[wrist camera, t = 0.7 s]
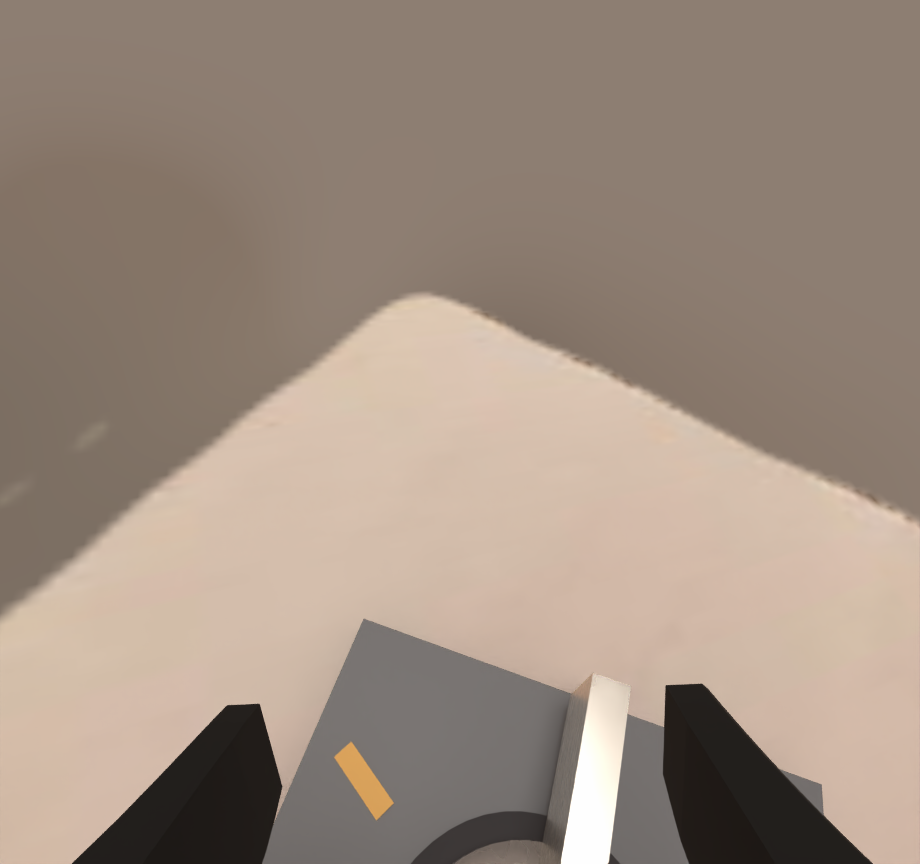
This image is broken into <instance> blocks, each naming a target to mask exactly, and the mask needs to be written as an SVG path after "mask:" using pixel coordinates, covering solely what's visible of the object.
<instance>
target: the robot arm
mask: <svg viewBox="0 0 920 864" xmlns="http://www.w3.org/2000/svg"><path fill="white" fill-rule="evenodd" d="M663 777H664V780H665V784H666V788H667V792H668V796H669V800H670V803H671V807H672V811H673V815H674V818H675V822H676V826H677V829H678V833H679V837H680V840H681V843H682V846H683V849H684V852H685V854H686V857H687V860H688V863H689V864H873V863H872V862H871V861H870V860H869V859H867V858H866V857H865V856H864V855H863V854H862V853H861V852H860V851H859V850H858V849H857V848H856V847H855V846H854V845H853V844H852V843H851V842H850V841H849V840H848V839H847V838H846V837H845V836H844V835H843V834H842V833H841V832H840V831H839V830H838V829H837V828H836V827H835V826H834V825H833V824H832V823H831V822H830V821H829V820H828V819H827V818H826V817H825V816H824V815H823V814H822V813H821V812H820V811H819V810H818V809H817V808H816V807H815V806H814V805H813V804H812V803H811V802H810V801H809V800H808V799H807V798H806V797H805V796H804V795H803V794H802V793H801V792H800V791H799V790H798V789H797V787H796V786H795V785H794V784H793V783H792V782H791V781H790V780H789V779H788V778H787V777H786V776H785V775H784V774H783V773H782V772H781V771H780V770H779V769H778V767H777V766H776V765H775V764H774V763H773V762H772V761H771V760H770V759H769V758H768V757H767V756H766V754H765V753H764V752H763V751H762V750H761V749H760V748H759V747H758V746H757V744H756V743H755V742H754V741H753V740H752V739H751V738H750V737H749V736H748V734H747V733H746V732H745V731H744V730H743V729H742V728H741V727H740V725H739V724H738V723H737V722H736V721H735V720H734V719H733V717H732V716H731V715H730V714H729V713H728V712H727V710H726V709H725V708H724V707H723V706H722V705H721V703H720V702H719V701H718V700H717V699H716V698H715V696H714V695H713V694H712V693H711V692H710V691H709V689H708V688H706V687H705V686H704V685H703V684H685V685H666V691H665V720H664V750H663ZM281 790H282V784H281V780H280V777H279V773H278V769H277V766H276V762H275V758H274V755H273V751H272V747H271V744H270V740H269V736H268V733H267V729H266V725H265V722H264V718H263V715H262V711H261V707H260V704H246V705H227V706H226V707H225V708H224V709H223V710H222V711H221V712H220V713H219V714H218V715H217V716H216V717H215V718H214V719H213V720H212V721H211V722H210V724H209V725H208V726H207V727H206V728H205V729H204V730H203V731H202V732H201V733H200V734H199V735H198V736H197V737H196V738H195V739H194V740H193V742H192V743H191V744H190V745H189V746H188V747H187V748H186V749H185V750H184V751H183V752H182V753H181V754H180V755H179V756H178V757H177V758H176V759H175V761H174V762H173V763H172V764H171V765H170V766H169V767H168V768H167V769H166V770H165V771H164V772H163V773H162V774H161V775H160V776H159V777H158V778H157V779H156V780H155V781H154V782H153V784H152V785H151V786H150V787H149V788H148V789H147V790H146V791H145V792H144V793H143V794H142V795H141V796H140V797H139V798H138V799H137V800H136V801H135V802H134V803H133V804H132V805H131V806H130V807H129V808H128V809H127V810H126V811H125V812H124V813H123V814H122V815H121V816H120V817H119V818H118V819H117V820H116V821H115V822H114V823H113V824H112V825H111V826H110V827H109V828H108V829H107V830H106V831H105V832H104V833H103V834H102V835H101V836H100V837H99V838H98V839H97V840H96V841H95V842H94V843H93V844H92V845H91V846H90V847H89V848H87V849H86V850H85V851H84V852H83V853H82V854H81V855H80V856H79V857H78V858H77V859H76V860H75V861H74V862H73V863H72V864H262V862H263V860H264V857H265V854H266V850H267V847H268V843H269V839H270V835H271V831H272V828H273V824H274V820H275V816H276V811H277V807H278V803H279V799H280V795H281Z"/></svg>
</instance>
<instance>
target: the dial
mask: <svg viewBox="0 0 920 864" xmlns="http://www.w3.org/2000/svg"><path fill="white" fill-rule="evenodd" d="M630 690H631V686H629V685H626V684H623V683H620V682H618V681H615V680H612V679H609V678H606V677H604V676H601V675H598V674H595V673H592V674H591V675H590V676H589V677H588V678H587V679H586V680H585V681H584V682H583V683H582V684H581V685H580V686H579V687H578V688H577V689H576V690H575V691H574V692H573V693H572V694H571V695H570V700H569V705H568V710H567V716H566V721H565V726H564V731H563V737H562V742H561V747H560V753H559V758H558V763H557V769H556V774H555V779H554V784H553V790H552V795H551V800H550V806H549V811H548V816H547V821H546V827H545V832H544V837H543V842H538V841H531V840H510V841H504V842H499V843H493V844H489V845H487V846H484V847H481V848H478V849H475V850H474V851H472V852H470V853H468V854H466V855H464V856H462V857H461V858H459V859H458V860H457V861H455V862H454V863H453V864H608V863H609V855H610V847H611V840H612V832H613V824H614V816H615V808H616V800H617V792H618V785H619V777H620V769H621V761H622V753H623V745H624V737H625V729H626V722H627V714H628V706H629V698H630Z"/></svg>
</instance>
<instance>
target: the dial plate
mask: <svg viewBox="0 0 920 864" xmlns="http://www.w3.org/2000/svg"><path fill="white" fill-rule="evenodd" d="M570 695H571V694H570V693H567V692H565V691H562V690H559V689H556V688H554V687H551V686H548V685H545V684H542V683H540V682H537V681H534V680H531V679H529V678H526V677H523V676H520V675H518V674H515V673H512V672H509V671H507V670H504V669H501V668H498V667H496V666H493V665H490V664H487V663H484V662H482V661H479V660H476V659H473V658H471V657H468V656H465V655H462V654H460V653H457V652H454V651H451V650H449V649H446V648H443V647H440V646H438V645H435V644H432V643H429V642H426V641H424V640H421V639H418V638H415V637H413V636H410V635H407V634H404V633H402V632H399V631H396V630H393V629H391V628H388V627H385V626H382V625H380V624H377V623H374V622H371V621H369V620H366V619H363V622H362V624H361V626H360V628H359V631H358V633H357V635H356V638H355V640H354V642H353V644H352V647H351V649H350V651H349V654H348V656H347V658H346V660H345V663H344V665H343V667H342V670H341V672H340V674H339V676H338V679H337V681H336V683H335V686H334V688H333V690H332V692H331V695H330V697H329V699H328V702H327V704H326V706H325V708H324V711H323V713H322V715H321V718H320V720H319V722H318V724H317V727H316V729H315V731H314V734H313V736H312V738H311V740H310V743H309V745H308V747H307V750H306V752H305V754H304V756H303V759H302V761H301V763H300V766H299V768H298V770H297V772H296V775H295V777H294V779H293V782H292V784H291V786H290V788H289V791H288V793H287V795H286V798H285V800H284V802H283V804H282V807H281V809H280V811H279V814H278V816H277V818H276V820H275V823H274V825H273V828H272V831H271V835H270V839H269V843H268V847H267V850H266V854H265V857H264V860H263V862H262V864H453V863H454V862H455V861H457V860H458V859H459V858H461V857H462V856H464V855H466V854H468V853H470V852H472V851H474V850H475V849H478V848H481V847H484V846H487V845H489V844H493V843H499V842H504V841H510V840H531V841H538V842H543V837H544V832H545V827H546V821H547V816H548V811H549V806H550V800H551V795H552V790H553V784H554V779H555V774H556V769H557V763H558V758H559V753H560V747H561V742H562V737H563V731H564V726H565V721H566V716H567V710H568V705H569V700H570ZM663 750H664V727H661V726H658V725H656V724H653V723H650V722H647V721H645V720H642V719H639V718H636V717H634V716H631V715H628V714H627V722H626V729H625V737H624V745H623V753H622V761H621V769H620V777H619V785H618V792H617V800H616V808H615V816H614V824H613V832H612V840H611V847H610V855H609V863H608V864H689V863H688V860H687V857H686V854H685V852H684V849H683V846H682V843H681V840H680V837H679V833H678V829H677V826H676V822H675V818H674V815H673V811H672V807H671V803H670V800H669V796H668V792H667V788H666V784H665V780H664V777H663ZM779 770H780V769H779ZM780 771H781V772H782V773H783V774H784V775H785V776H786V777H787V778H788V779H789V780H790V781H791V782H792V783H793V784H794V785H795V786H796V787H797V789H798V790H799V791H800V792H801V793H802V794H803V795H804V796H805V797H806V798H807V799H808V800H809V801H810V802H811V803H812V804H813V805H814V806H815V807H816V808H817V809H818V810H819V811H820V812H821V813H822V814H823V798H822V785H821V784H819V783H816V782H813V781H810V780H808V779H805V778H802V777H799V776H796V775H794V774H791V773H788V772H785V771H783V770H780ZM823 815H824V814H823Z"/></svg>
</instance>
